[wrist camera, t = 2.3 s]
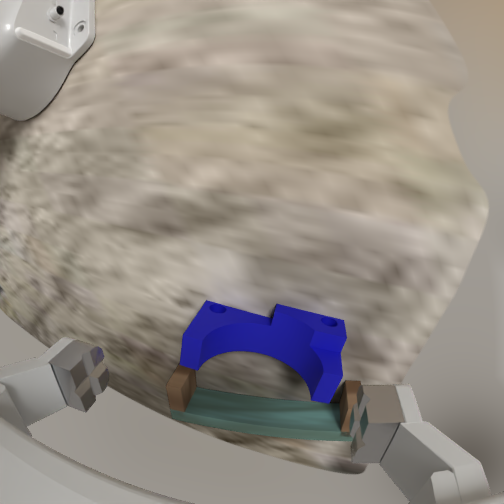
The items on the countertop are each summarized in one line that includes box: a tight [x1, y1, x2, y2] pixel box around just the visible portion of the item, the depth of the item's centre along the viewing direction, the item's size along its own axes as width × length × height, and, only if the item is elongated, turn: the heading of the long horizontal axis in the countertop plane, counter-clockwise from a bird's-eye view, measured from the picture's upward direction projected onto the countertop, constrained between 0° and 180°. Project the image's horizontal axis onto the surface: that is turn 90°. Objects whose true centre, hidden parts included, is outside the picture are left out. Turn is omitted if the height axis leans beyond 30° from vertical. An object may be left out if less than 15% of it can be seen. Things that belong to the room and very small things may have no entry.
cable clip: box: [180, 300, 347, 404], centre depth 25 cm, size 12×4×6 cm, turn 78°
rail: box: [166, 363, 361, 441], centre depth 28 cm, size 5×18×4 cm, turn 88°
